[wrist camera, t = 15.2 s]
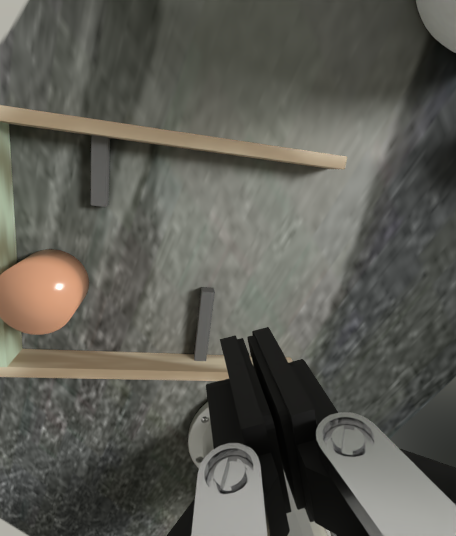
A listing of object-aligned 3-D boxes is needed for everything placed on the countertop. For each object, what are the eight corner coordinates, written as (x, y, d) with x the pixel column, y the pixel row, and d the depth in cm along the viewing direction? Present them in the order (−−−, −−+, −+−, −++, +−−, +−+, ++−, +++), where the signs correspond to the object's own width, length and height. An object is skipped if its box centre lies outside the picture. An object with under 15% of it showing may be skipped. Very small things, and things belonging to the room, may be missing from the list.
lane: (288, 365, 36) (298, 382, 34) (11, 357, 32) (-5, 376, 29) (331, 157, 30) (347, 156, 27) (-7, 107, 25) (-30, 100, 22)
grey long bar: (205, 354, 34) (206, 361, 33) (193, 354, 34) (194, 360, 33) (213, 288, 32) (214, 292, 31) (201, 287, 32) (202, 291, 31)
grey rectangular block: (108, 205, 29) (105, 206, 27) (94, 203, 28) (90, 205, 27) (110, 137, 27) (107, 136, 26) (94, 135, 27) (91, 134, 26)
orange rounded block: (90, 311, 31) (77, 334, 27) (22, 310, 30) (-3, 334, 26) (87, 250, 30) (72, 264, 25) (14, 247, 29) (-14, 262, 24)
